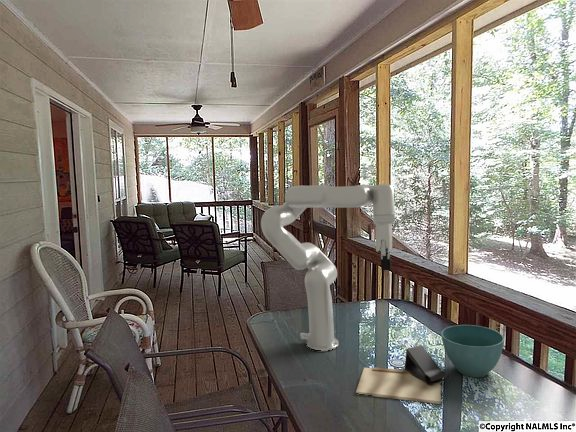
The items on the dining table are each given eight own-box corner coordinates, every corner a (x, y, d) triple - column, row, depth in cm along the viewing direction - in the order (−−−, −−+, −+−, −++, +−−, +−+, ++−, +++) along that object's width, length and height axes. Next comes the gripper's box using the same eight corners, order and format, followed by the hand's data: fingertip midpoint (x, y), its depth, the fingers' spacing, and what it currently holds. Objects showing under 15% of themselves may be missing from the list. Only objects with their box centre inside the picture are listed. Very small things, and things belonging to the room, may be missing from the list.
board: (356, 394, 123) (355, 390, 123) (364, 369, 138) (364, 366, 138) (441, 404, 115) (440, 400, 114) (439, 377, 130) (439, 373, 129)
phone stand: (418, 368, 136) (444, 390, 126) (403, 372, 134) (429, 395, 123) (421, 344, 134) (448, 365, 123) (406, 348, 132) (433, 370, 121)
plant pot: (478, 391, 120) (477, 351, 119) (430, 368, 136) (429, 332, 135) (517, 374, 128) (516, 337, 127) (467, 354, 144) (466, 320, 143)
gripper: (376, 217, 153) (378, 265, 155) (370, 221, 139) (372, 274, 141) (396, 216, 151) (398, 265, 152) (392, 221, 137) (395, 274, 138)
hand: (386, 269), depth 147 cm, fingers closed
